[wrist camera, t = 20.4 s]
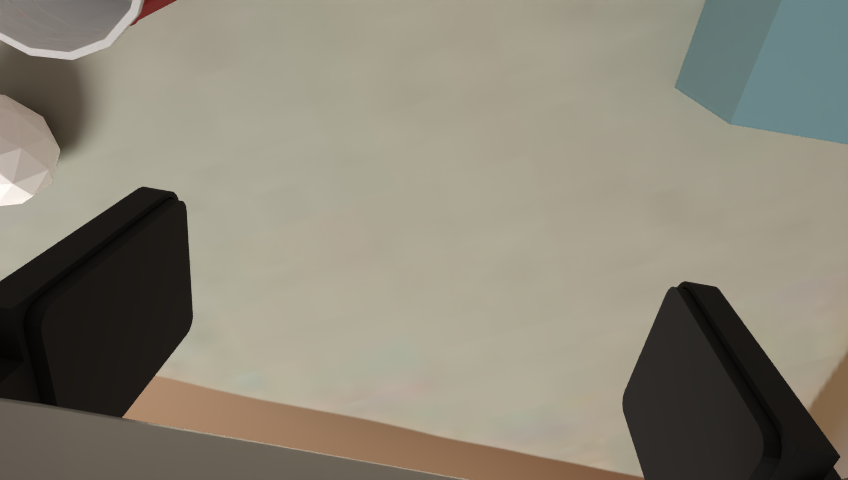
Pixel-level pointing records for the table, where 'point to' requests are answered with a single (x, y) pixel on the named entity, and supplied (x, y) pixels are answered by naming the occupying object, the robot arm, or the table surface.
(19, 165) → the geometric ball
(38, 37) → the plastic cup
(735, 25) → the matte blue-grey box
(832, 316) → the table surface
